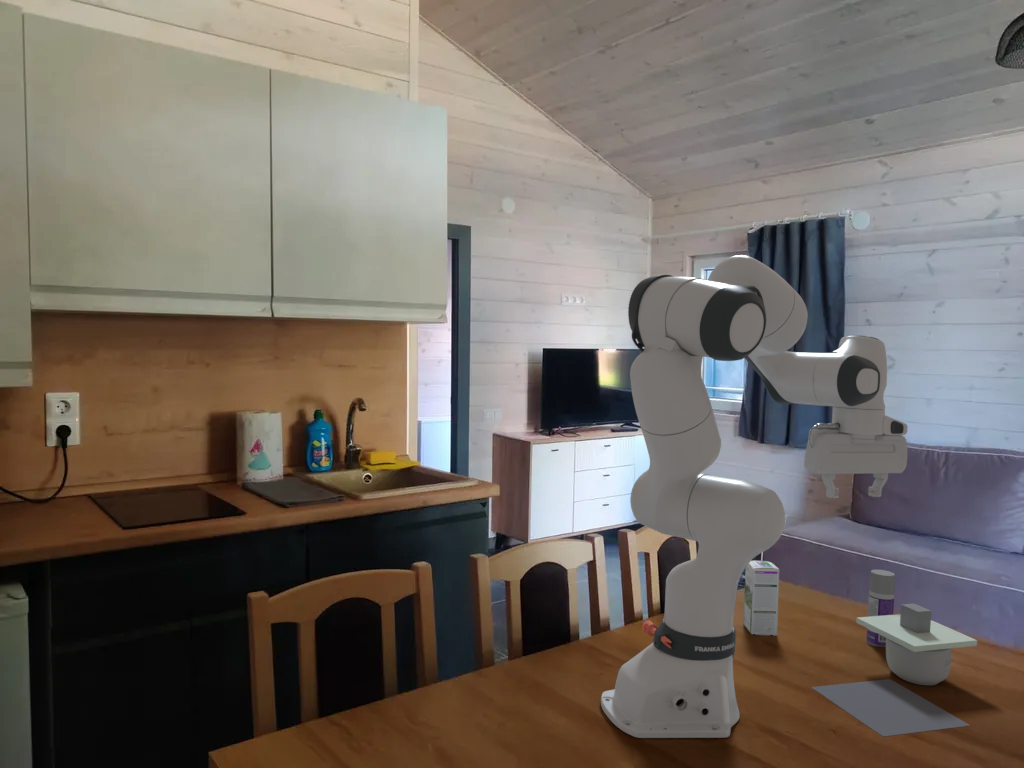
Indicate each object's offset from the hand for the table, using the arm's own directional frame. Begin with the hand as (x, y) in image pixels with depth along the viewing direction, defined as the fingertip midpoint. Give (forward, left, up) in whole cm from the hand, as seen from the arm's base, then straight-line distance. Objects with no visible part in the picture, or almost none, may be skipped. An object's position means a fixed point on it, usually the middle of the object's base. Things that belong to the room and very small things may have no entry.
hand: (853, 497), depth 136 cm
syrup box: (-4, +21, -33) cm, 40 cm away
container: (+17, +10, -33) cm, 39 cm away
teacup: (+12, -4, -33) cm, 36 cm away
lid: (+12, -4, -25) cm, 28 cm away
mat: (-3, -14, -33) cm, 36 cm away
